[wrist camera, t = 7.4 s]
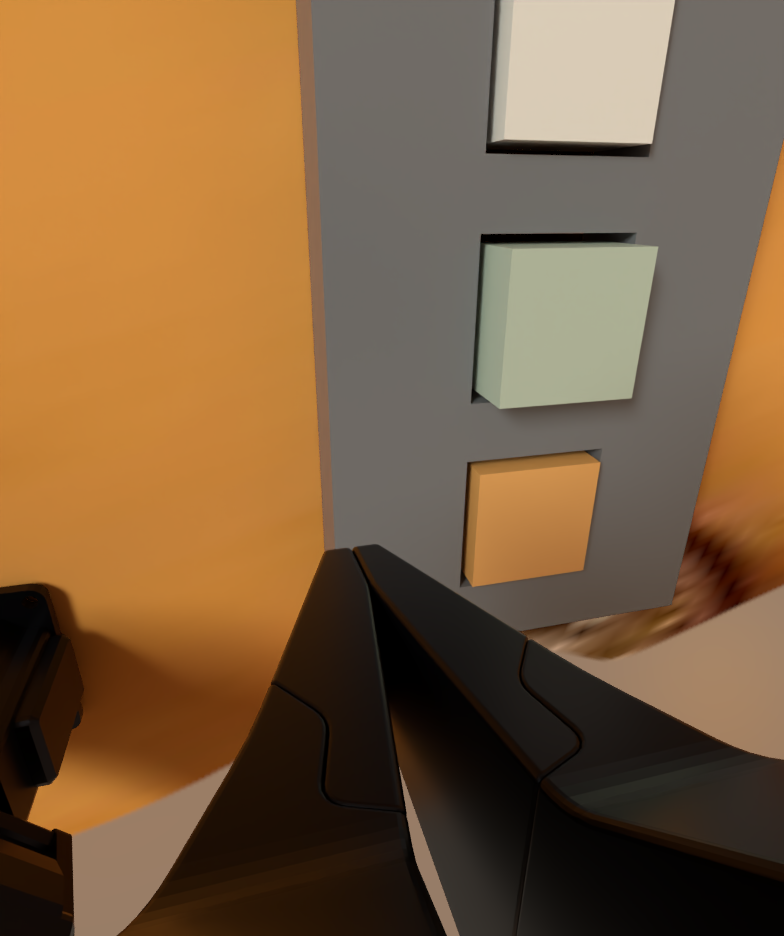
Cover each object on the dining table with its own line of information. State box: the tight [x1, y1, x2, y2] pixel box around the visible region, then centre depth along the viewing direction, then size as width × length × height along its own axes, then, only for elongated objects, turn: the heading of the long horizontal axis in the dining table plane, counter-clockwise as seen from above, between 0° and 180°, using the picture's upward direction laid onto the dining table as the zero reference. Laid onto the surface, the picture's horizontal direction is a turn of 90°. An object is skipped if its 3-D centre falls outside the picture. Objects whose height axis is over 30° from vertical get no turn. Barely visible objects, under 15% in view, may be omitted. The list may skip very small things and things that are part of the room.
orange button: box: [461, 450, 600, 587], centre depth 22 cm, size 4×4×3 cm
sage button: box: [472, 241, 658, 409], centre depth 18 cm, size 4×4×3 cm
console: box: [296, 0, 784, 631], centre depth 19 cm, size 14×24×3 cm, turn 0°
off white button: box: [486, 0, 675, 152], centre depth 16 cm, size 4×4×3 cm
